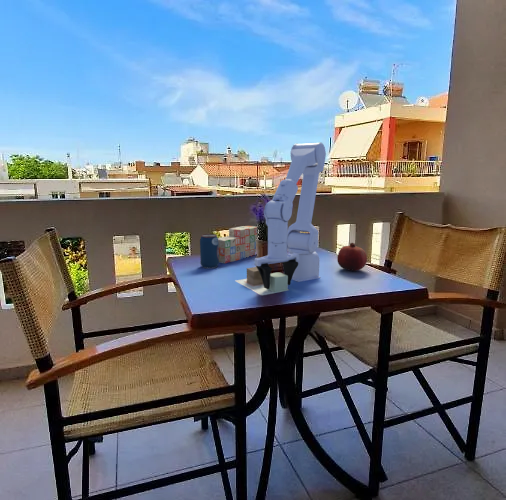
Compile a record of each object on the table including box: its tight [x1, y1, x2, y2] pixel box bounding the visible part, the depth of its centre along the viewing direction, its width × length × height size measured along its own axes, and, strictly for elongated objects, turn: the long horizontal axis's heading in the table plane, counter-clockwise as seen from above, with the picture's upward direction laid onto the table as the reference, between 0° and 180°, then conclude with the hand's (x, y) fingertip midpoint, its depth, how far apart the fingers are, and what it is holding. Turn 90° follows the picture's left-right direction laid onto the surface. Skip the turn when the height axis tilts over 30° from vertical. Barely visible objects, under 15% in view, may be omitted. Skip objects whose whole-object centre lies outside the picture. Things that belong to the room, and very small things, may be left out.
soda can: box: [199, 233, 220, 269], centre depth 140 cm, size 7×7×12 cm
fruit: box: [336, 242, 368, 272], centre depth 134 cm, size 11×10×10 cm
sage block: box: [269, 272, 289, 294], centre depth 112 cm, size 4×4×4 cm
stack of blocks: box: [217, 225, 258, 264], centre depth 154 cm, size 21×6×12 cm, turn 141°
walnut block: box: [246, 266, 263, 285], centre depth 118 cm, size 4×4×4 cm
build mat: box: [235, 278, 290, 296], centre depth 116 cm, size 10×17×1 cm, turn 30°
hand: (277, 286), depth 112 cm, fingers open, 7 cm apart
